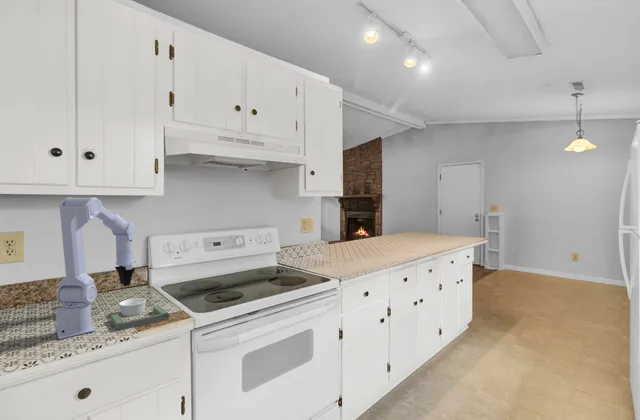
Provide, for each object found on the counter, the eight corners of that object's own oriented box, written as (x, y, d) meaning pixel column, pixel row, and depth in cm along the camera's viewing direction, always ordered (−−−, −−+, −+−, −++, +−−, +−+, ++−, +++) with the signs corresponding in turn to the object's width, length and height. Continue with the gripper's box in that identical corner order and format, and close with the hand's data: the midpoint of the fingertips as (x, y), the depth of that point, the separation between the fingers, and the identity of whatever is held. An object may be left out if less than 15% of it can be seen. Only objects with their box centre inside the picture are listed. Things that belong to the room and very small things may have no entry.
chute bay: (118, 330, 114) (118, 324, 113) (111, 320, 123) (110, 314, 122) (168, 318, 124) (168, 313, 124) (158, 310, 133) (158, 305, 133)
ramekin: (134, 317, 126) (134, 306, 125) (113, 315, 127) (113, 304, 127) (151, 309, 134) (151, 298, 134) (131, 308, 136) (131, 297, 136)
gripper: (140, 252, 136) (141, 286, 136) (131, 247, 146) (131, 279, 147) (119, 254, 131) (120, 289, 132) (112, 249, 142) (112, 282, 142)
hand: (125, 284), depth 139 cm, fingers open, 4 cm apart
